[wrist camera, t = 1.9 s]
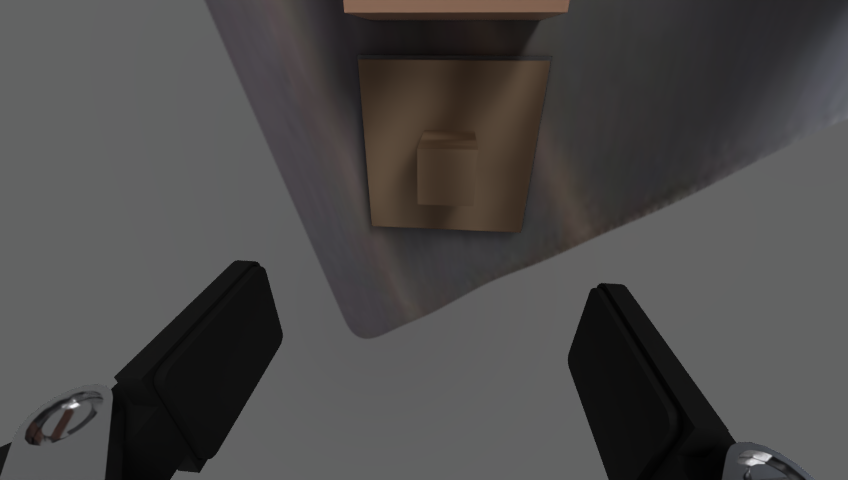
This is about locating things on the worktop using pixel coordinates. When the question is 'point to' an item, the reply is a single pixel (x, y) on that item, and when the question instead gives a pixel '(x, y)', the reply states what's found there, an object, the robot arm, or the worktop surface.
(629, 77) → the worktop surface
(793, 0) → the worktop surface
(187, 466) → the robot arm
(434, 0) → the open box
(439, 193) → the lid
